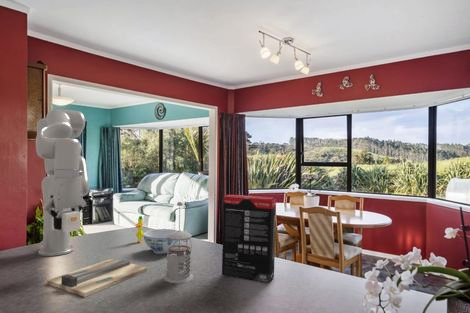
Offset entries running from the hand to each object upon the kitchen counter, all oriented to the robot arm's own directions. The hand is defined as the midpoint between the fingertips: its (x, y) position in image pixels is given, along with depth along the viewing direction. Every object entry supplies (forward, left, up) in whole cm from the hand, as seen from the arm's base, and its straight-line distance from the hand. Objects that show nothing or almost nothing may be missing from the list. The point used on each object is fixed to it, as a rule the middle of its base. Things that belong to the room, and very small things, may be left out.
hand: (65, 227), depth 108 cm
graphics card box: (+56, +28, -16) cm, 64 cm away
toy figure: (-6, +40, -16) cm, 43 cm away
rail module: (0, 0, -1) cm, 1 cm away
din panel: (+14, +3, -15) cm, 21 cm away
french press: (+36, +17, -16) cm, 43 cm away
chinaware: (+12, +35, -16) cm, 40 cm away
